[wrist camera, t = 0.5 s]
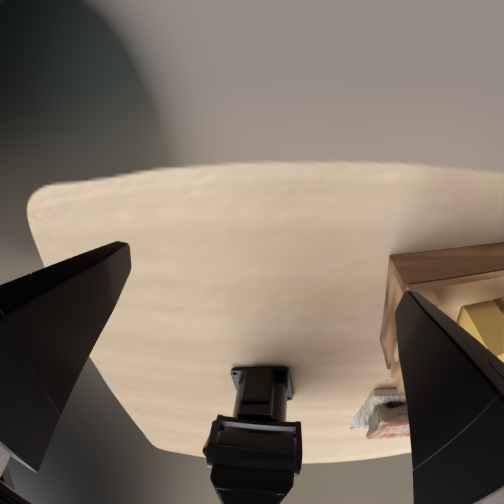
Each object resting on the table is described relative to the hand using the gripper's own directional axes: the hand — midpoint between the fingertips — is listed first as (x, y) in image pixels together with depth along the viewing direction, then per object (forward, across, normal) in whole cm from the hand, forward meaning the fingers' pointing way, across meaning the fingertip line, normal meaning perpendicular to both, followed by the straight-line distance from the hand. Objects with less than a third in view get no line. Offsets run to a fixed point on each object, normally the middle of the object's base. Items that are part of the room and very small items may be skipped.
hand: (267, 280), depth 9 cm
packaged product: (+15, -26, +28) cm, 41 cm away
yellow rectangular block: (+13, -20, +8) cm, 25 cm away
